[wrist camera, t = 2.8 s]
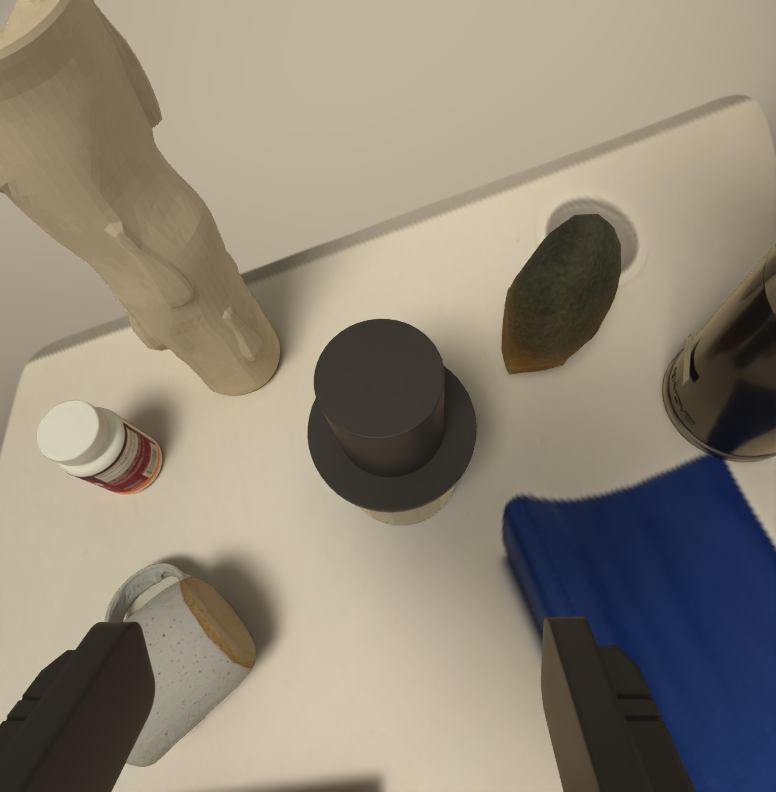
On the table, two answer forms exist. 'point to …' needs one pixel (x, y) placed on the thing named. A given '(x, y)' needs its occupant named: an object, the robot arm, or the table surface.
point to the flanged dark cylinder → (388, 418)
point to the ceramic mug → (183, 654)
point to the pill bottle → (99, 447)
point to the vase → (121, 192)
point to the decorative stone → (561, 294)
